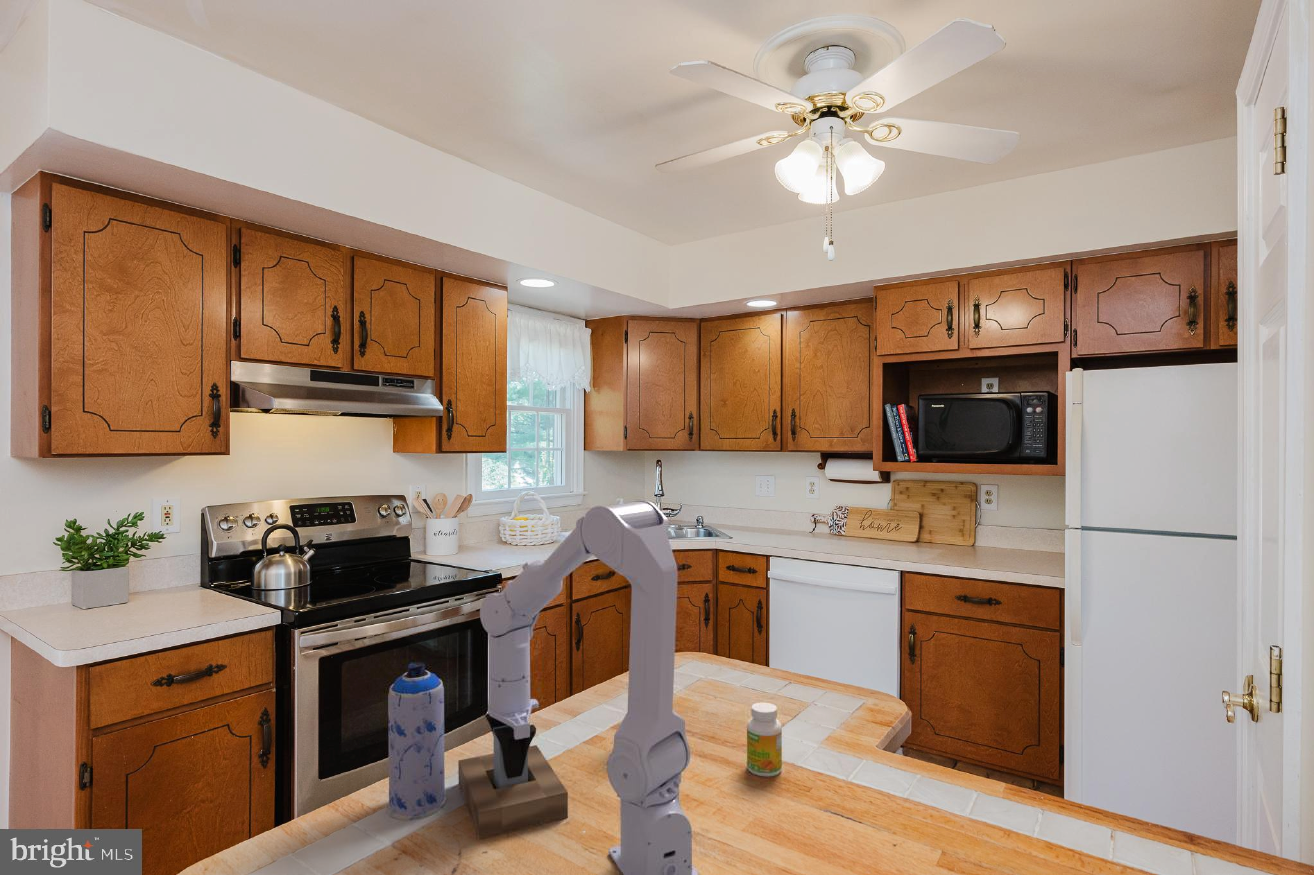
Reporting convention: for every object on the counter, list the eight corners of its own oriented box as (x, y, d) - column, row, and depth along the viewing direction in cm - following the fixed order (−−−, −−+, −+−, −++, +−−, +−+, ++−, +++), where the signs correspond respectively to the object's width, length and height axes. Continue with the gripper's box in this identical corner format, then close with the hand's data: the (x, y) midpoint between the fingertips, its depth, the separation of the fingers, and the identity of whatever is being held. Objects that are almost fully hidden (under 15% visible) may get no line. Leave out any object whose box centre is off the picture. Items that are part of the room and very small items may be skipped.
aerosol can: (457, 799, 101) (456, 660, 101) (413, 826, 94) (412, 677, 94) (420, 785, 105) (419, 652, 105) (375, 810, 98) (374, 667, 98)
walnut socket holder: (567, 817, 96) (567, 792, 96) (479, 839, 91) (478, 812, 91) (536, 767, 111) (536, 745, 111) (458, 783, 106) (458, 760, 105)
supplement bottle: (741, 772, 109) (741, 710, 108) (753, 758, 113) (753, 698, 113) (775, 780, 106) (775, 716, 106) (786, 765, 111) (786, 704, 111)
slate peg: (527, 789, 100) (527, 733, 100) (499, 795, 98) (499, 738, 98) (521, 777, 103) (520, 722, 103) (493, 782, 102) (493, 727, 102)
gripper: (551, 687, 96) (552, 786, 96) (524, 656, 109) (525, 743, 109) (499, 695, 93) (500, 797, 93) (478, 662, 106) (479, 752, 106)
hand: (510, 769), depth 101 cm, fingers closed on slate peg, 4 cm apart
